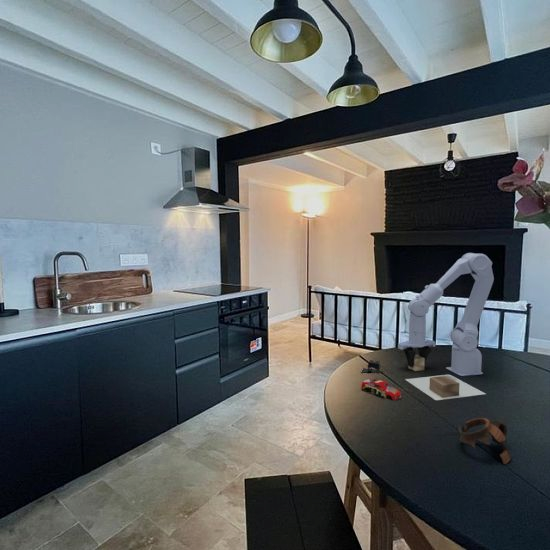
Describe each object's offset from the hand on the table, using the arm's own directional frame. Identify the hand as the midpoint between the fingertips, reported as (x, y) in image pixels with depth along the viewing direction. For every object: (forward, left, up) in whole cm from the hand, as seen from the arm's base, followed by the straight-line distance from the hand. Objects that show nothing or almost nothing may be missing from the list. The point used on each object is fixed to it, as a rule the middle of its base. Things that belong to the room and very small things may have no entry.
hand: (416, 366), depth 126 cm
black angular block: (+17, -1, -2) cm, 17 cm away
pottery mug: (+14, +47, -2) cm, 49 cm away
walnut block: (+4, +20, -1) cm, 20 cm away
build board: (+1, +16, -1) cm, 16 cm away
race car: (+23, +15, -2) cm, 28 cm away
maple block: (0, 0, -1) cm, 1 cm away
